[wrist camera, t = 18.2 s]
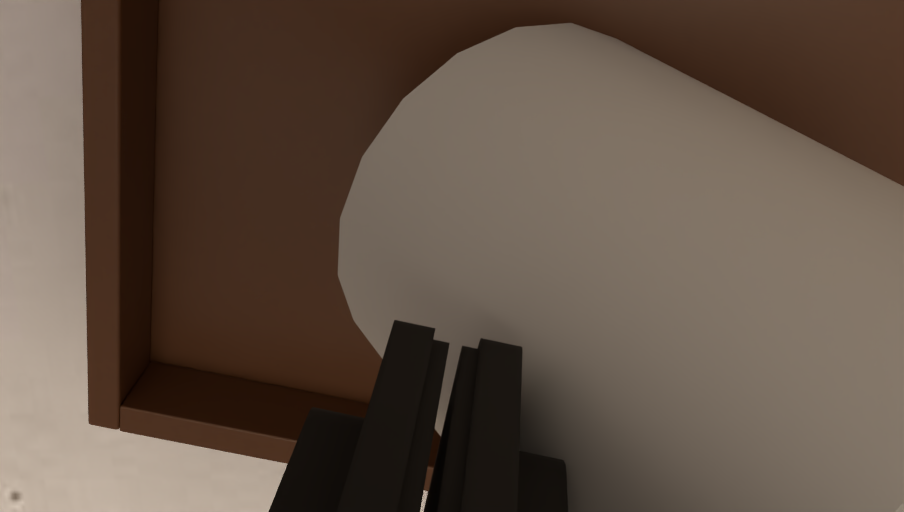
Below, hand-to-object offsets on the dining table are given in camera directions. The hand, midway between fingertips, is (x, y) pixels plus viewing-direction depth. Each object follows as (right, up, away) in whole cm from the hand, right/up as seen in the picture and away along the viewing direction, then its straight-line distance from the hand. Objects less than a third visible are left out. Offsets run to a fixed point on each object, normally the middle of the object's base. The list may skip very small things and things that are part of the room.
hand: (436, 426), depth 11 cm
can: (+1, +4, +6) cm, 7 cm away
